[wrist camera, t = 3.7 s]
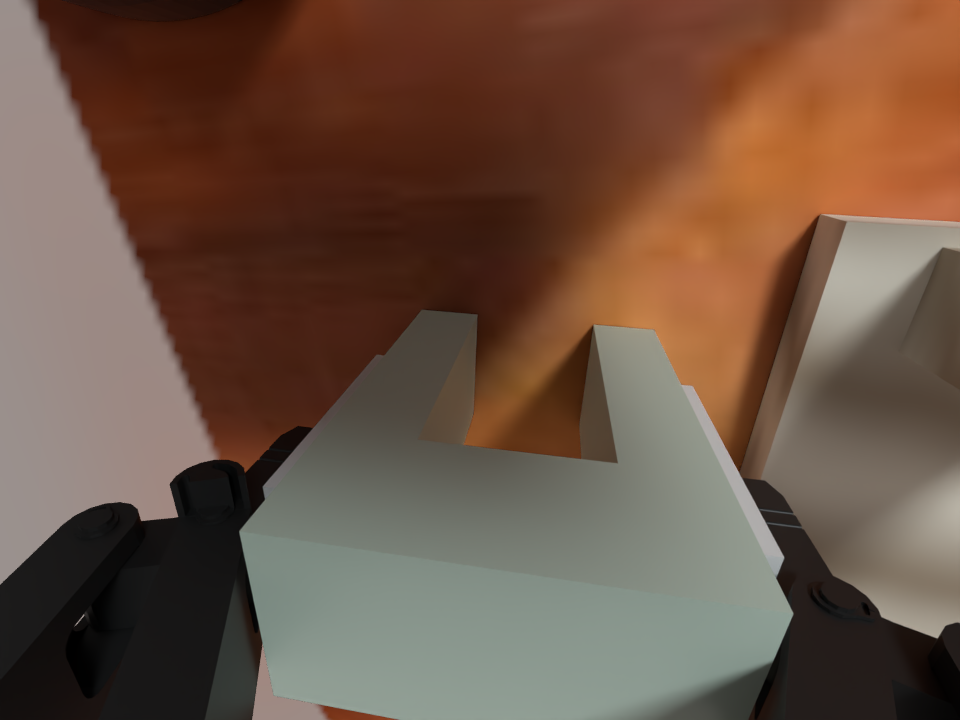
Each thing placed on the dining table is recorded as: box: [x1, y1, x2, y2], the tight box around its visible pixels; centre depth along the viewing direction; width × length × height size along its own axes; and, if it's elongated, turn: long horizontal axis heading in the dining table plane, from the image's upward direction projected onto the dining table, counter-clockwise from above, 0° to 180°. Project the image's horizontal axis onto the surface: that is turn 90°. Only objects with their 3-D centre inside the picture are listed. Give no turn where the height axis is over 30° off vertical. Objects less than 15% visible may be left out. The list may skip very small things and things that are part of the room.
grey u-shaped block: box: [239, 310, 793, 720], centre depth 13 cm, size 4×8×11 cm, turn 87°
